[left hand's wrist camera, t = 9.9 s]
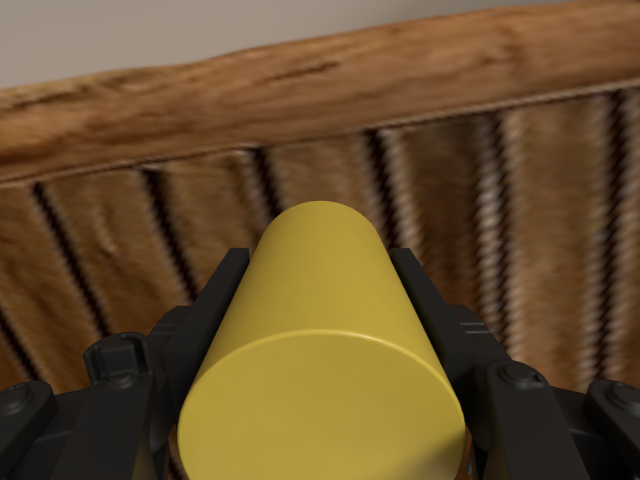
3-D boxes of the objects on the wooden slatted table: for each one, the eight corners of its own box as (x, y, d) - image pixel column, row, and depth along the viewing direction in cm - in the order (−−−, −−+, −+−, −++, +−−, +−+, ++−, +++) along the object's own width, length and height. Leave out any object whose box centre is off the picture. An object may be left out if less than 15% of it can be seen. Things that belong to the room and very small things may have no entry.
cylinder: (231, 254, 16) (113, 438, 7) (329, 172, 14) (346, 267, 6) (312, 337, 17) (305, 576, 8) (408, 269, 16) (521, 467, 7)
